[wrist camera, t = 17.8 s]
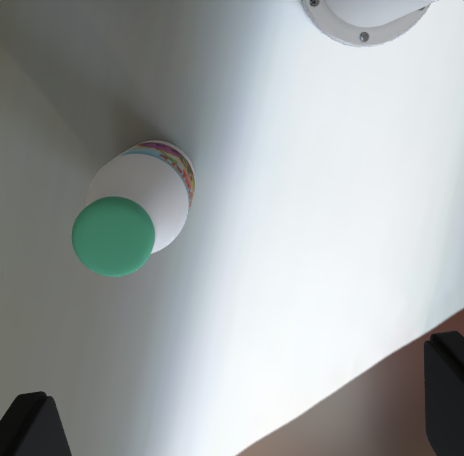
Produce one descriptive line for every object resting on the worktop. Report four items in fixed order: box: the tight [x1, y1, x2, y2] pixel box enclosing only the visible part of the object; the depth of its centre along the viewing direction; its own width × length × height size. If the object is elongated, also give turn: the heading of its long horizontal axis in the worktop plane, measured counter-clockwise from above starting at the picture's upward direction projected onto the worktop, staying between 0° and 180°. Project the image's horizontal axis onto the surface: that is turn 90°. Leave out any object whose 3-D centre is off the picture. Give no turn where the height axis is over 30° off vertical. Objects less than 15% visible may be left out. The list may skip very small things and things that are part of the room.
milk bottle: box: [72, 140, 196, 277], centre depth 34 cm, size 8×8×20 cm
